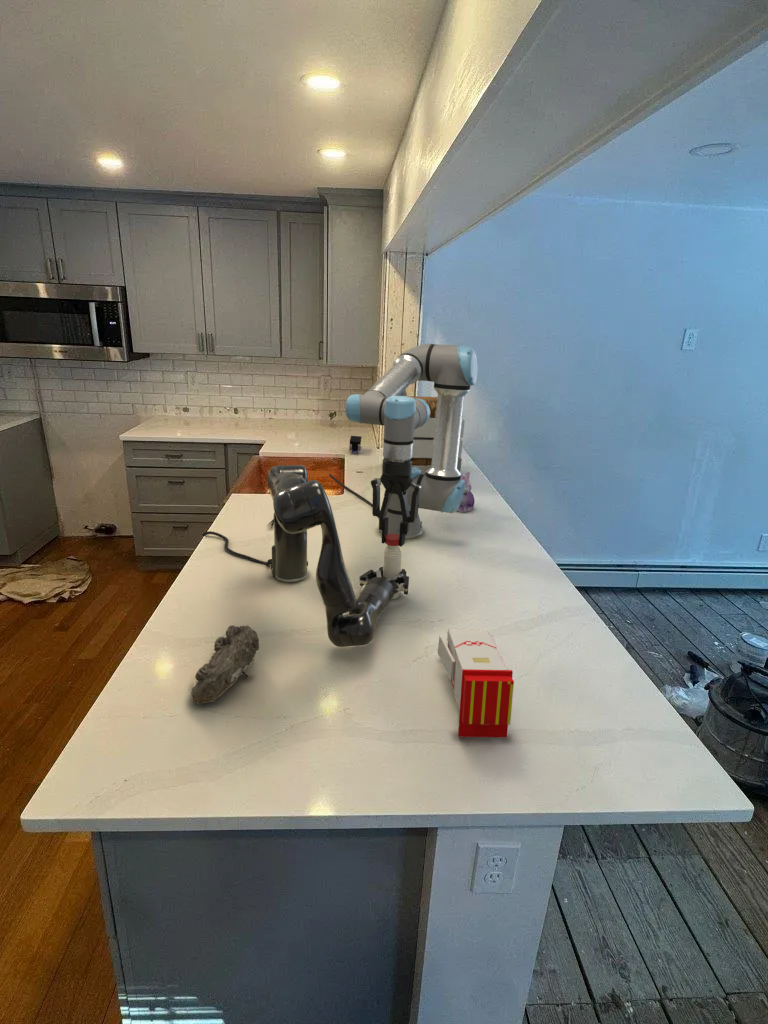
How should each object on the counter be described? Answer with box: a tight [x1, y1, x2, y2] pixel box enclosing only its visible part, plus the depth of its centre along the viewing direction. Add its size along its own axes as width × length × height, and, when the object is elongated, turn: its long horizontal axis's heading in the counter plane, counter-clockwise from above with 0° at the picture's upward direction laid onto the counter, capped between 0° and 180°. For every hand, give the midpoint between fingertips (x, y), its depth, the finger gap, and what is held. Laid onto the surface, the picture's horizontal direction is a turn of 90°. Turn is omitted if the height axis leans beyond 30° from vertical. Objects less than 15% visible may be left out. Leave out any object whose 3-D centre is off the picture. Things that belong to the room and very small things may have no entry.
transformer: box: [400, 389, 465, 473], centre depth 268 cm, size 34×33×41 cm
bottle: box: [382, 544, 403, 600], centre depth 154 cm, size 5×5×17 cm
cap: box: [384, 534, 399, 546], centre depth 152 cm, size 4×4×2 cm
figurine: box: [455, 471, 476, 513], centre depth 225 cm, size 9×10×15 cm
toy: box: [437, 628, 515, 738], centre depth 117 cm, size 12×13×30 cm
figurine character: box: [348, 435, 363, 455], centre depth 309 cm, size 7×8×15 cm
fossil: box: [191, 624, 260, 705], centre depth 119 cm, size 22×10×15 cm
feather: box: [266, 518, 274, 529], centre depth 211 cm, size 2×28×2 cm
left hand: (394, 570), depth 157 cm, fingers closed on bottle, 5 cm apart
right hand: (393, 543), depth 152 cm, fingers closed on cap, 4 cm apart
